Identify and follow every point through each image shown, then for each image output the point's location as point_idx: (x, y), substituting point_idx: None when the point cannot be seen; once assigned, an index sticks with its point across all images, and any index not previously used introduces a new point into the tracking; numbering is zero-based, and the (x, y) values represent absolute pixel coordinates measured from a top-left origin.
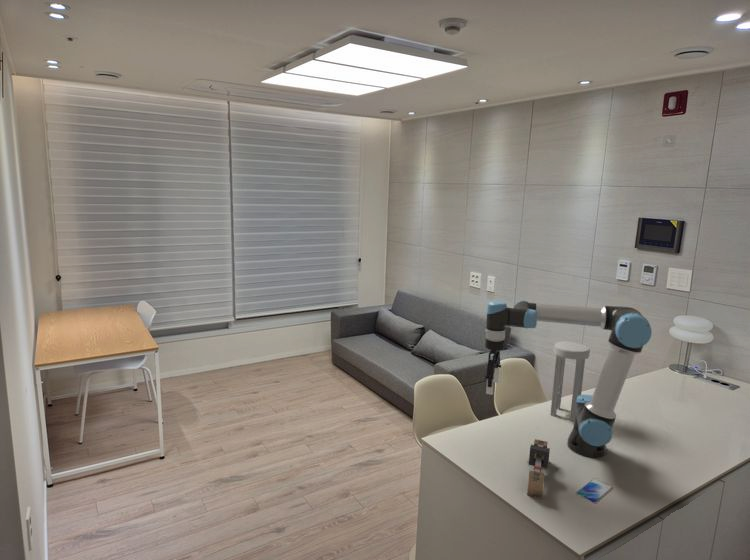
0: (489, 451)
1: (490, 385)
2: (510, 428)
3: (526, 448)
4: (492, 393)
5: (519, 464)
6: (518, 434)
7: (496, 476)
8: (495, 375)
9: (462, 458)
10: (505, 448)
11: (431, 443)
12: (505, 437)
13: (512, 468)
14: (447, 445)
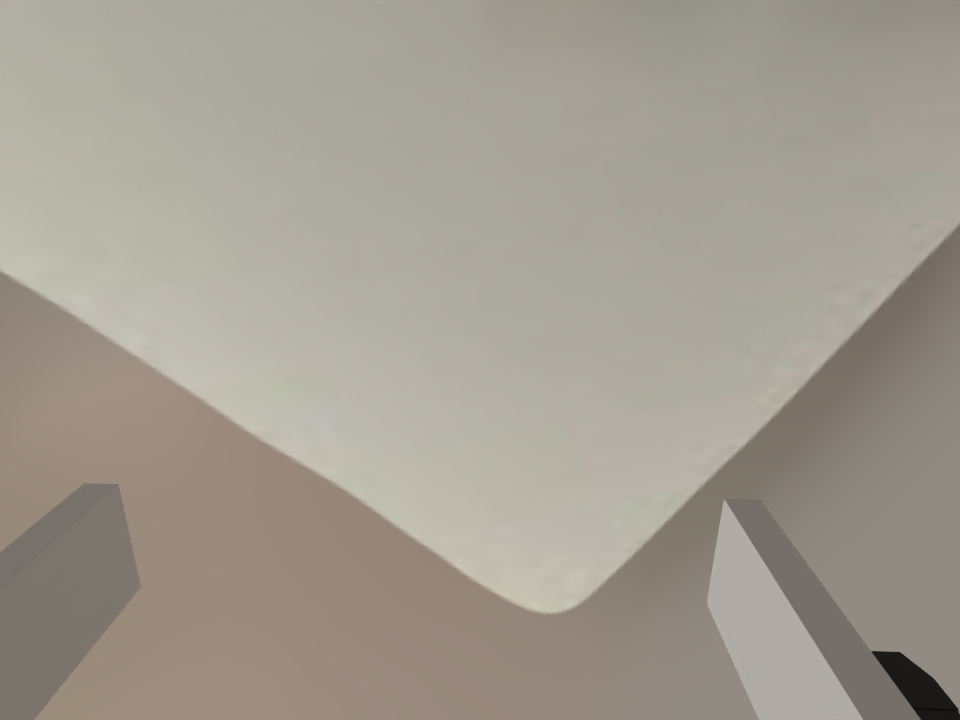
0: (546, 270)
1: (948, 716)
2: (138, 176)
3: (385, 15)
4: (771, 521)
5: (641, 42)
6: (198, 103)
7: (846, 178)
8: (26, 646)
9: (697, 409)
10: (457, 171)
11: (593, 591)
12: (298, 193)
13: (712, 86)
14: (579, 513)
